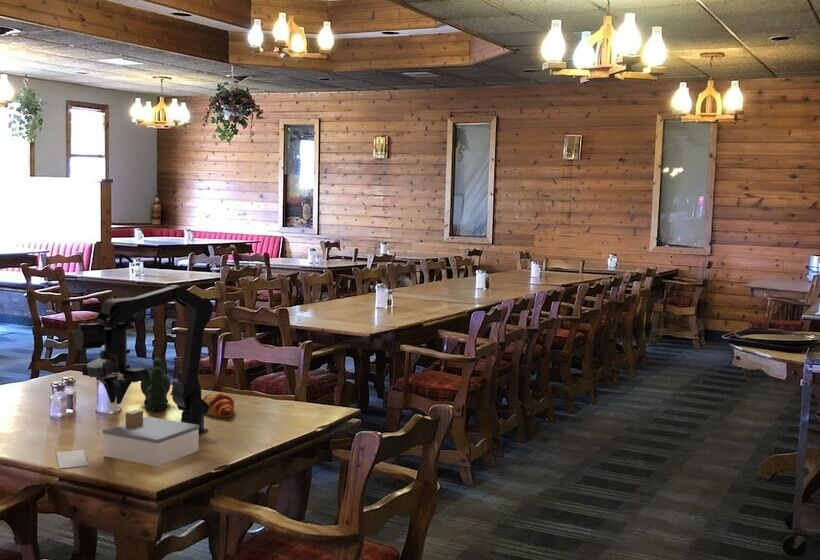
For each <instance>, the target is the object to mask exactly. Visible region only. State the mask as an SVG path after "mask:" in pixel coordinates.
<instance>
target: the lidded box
mask: <svg viewBox="0 0 820 560" xmlns="http://www.w3.org/2000/svg"><path fill="white" fill-rule="evenodd" d="M199 435H200V434H199V429H195V430H192V431H190V432H187V433H184V434H181V435H178V436H176V437H173V438H170V439H167V440H164V441H162V442H159V443H155V442H149V441H143V440H138V439H132V438H127V437H121V436H115V435H110V434H104V433H103V457H107V458H112V459H117V460H122V461H126V462H133V463H139V464H143V465H149V466H155V467H161V466H163V465H166V464H168V463H171V462H174V461H176V460H179V459H181V458H184V457H186V456H188V455H191V454H194V453H196V452H198V451H199V438H200V437H199Z"/></svg>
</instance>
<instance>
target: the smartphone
mask: <svg viewBox="0 0 820 560" xmlns="http://www.w3.org/2000/svg"><path fill="white" fill-rule="evenodd" d="M55 455H56V460H57V466H58V469H59V470H64V469H74V468H75V469H77V468H84V467H85V468H86V467H89V462H88V458H87V456H86V452H85V449H76V450H65V451H57V452H55Z"/></svg>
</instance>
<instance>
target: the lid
mask: <svg viewBox="0 0 820 560" xmlns="http://www.w3.org/2000/svg"><path fill="white" fill-rule="evenodd" d="M198 428H200V425H196V424H190V423H184V422H181V421H177V420H171V419H164V418H158V417H153V416H145V417H144V410H141V409H133V410H129V411H127V412H125V423H122V424H118V425H115V426H111V427H109V428H105V429H102V434H103V435H104V434H110V435H115V436H121V437H127V438H132V439H138V440H143V441H149V442H155V443H159V442H162V441H164V440H167V439H170V438H173V437H176V436H178V435H181V434H184V433H187V432H190V431H192V430H195V429H198Z"/></svg>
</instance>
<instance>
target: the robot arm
mask: <svg viewBox="0 0 820 560" xmlns="http://www.w3.org/2000/svg"><path fill="white" fill-rule="evenodd" d="M172 302H175V303H177V304H178V305H179V306H180V307H182V308H183V317H184V320H185V324H186V327H187V328H186V334H185V335H186V337H185V342H184V343H185V344H184V349H183V350H184V351H183V358H182V359H183V360H182V366H181V372H180V373H181V374H180V376H179V378H178V380H173V381H172V385H171V386H172V389H171V392H170V396H172V397H171V398H172V401H173V402H174V404H175V405H176V407H177V409H178V410H179V411H182V412H181V418H180V422H184V423H190V424H196V425H200V428H198V429H199V435H202V434H203V433H206V432H208V431H209V429H208V428H205V414H206V413H207V412H208V409H209V405H208V404H207V403H206V402H205V401H204V400H203V397H202V387H201V386H202V385H201V383H200V380H199V373H200V367H201V366H200V365H201V357H202V352H203V351H202V350H203V344H204V343H203V342H204V336H205V335H204V334H205V329H206V327H207V326H208V324H209V322H210V321H211V318H212V315H213V311H214V303H213V302H212V301H211V300H210V299H209V298H206V297H202V296H199V295H197V294H195V293H193V292H192V291H190V290H188V289H186V288H185V287H184V286H182V285H178V284H171V285H170V286H167V287H164V288H160V289H157V290H152V291H150V292H147V293H143V294H141V295H137V296H134V297H132V296H131V297H118V298H117V297H116V298H108V299H106V300H105V301H103V304H102V305H101V308H100V311H99V312H98V314H97V315H96V317H95V318H94V320H93V321H92V323H78V324H77V328H76V330H75V331H74V335H73V342H74V343H73V344H74V346H75V348H76V350H78V351H82V350H93V349H94V350H95V349H101V348H102V347H103V346H104V348H103V350H100V353H99V358H95V359H94V360H93V361H91V362H90V363H85V364H84V365H83V367H82V370H81V371H82V376H87V377H89V378H95V380H97V381H99V382H101V384H102V385H103V386H104V389H105V391H106V394H107V397H108V399H109V402H110V404H114V403H115V402H116V404H117V405H120V404H122V402H123V399H124V397H125V395H126V393H127V391H128V389H129V387H130V386H131V383H137V382H138V383H139V382H141V381H142V380H146V379H149V372H150V370H149V369H148V368H144V367H138V366H137V367H133V368H131V364H130V363H128V359H127V357H128V355H129V354H130V353H131V349H130V348H129V349H128V348H127V347H128V346H127V345H128V344H127V343H128V340H127V339H128V338H127V337H128V336H127V334H128V333H127V332H128V330H134V329H135V328H136V327H135V326H134V324H132V322H131V321H130V319H132V318H134V317H135V316H136V315H137V314H139V313H141V312H143V311H146V310H149V309H152V308H156V307H159V306H162V305H165V304H169V303H172Z"/></svg>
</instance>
